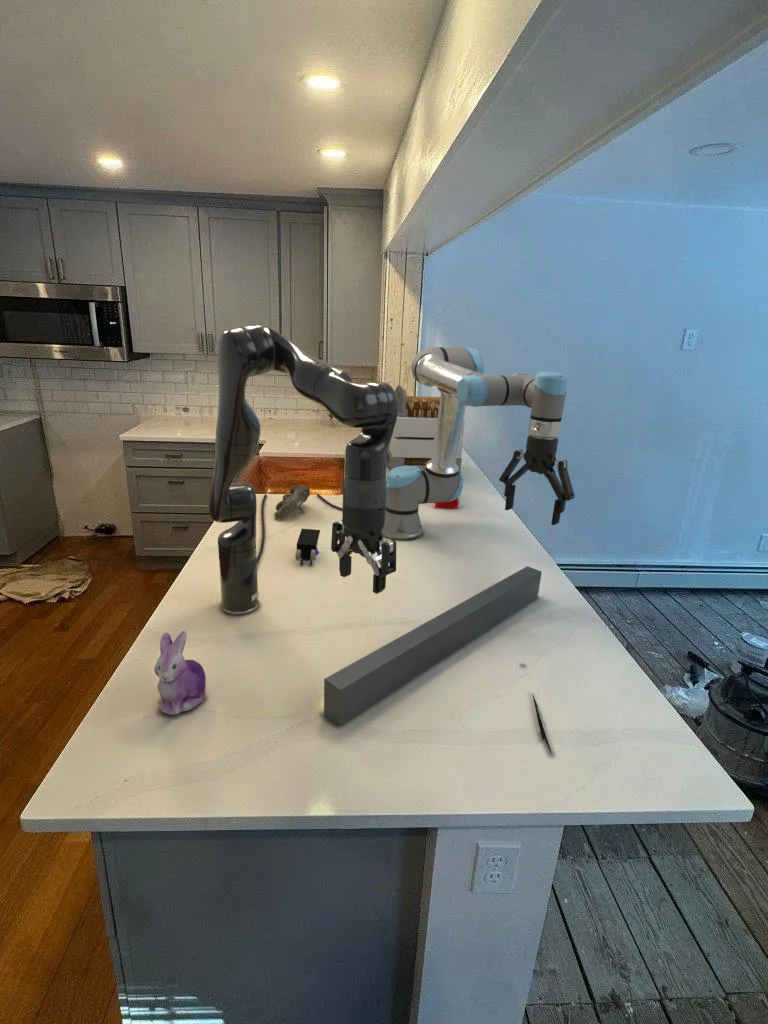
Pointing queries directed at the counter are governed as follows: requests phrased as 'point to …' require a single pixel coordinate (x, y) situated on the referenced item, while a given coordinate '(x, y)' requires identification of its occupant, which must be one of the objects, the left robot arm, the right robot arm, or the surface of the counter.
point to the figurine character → (307, 545)
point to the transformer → (415, 431)
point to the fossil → (292, 501)
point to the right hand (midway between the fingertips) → (531, 516)
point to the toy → (447, 504)
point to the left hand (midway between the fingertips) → (361, 583)
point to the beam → (425, 646)
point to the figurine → (178, 677)
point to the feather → (541, 724)
